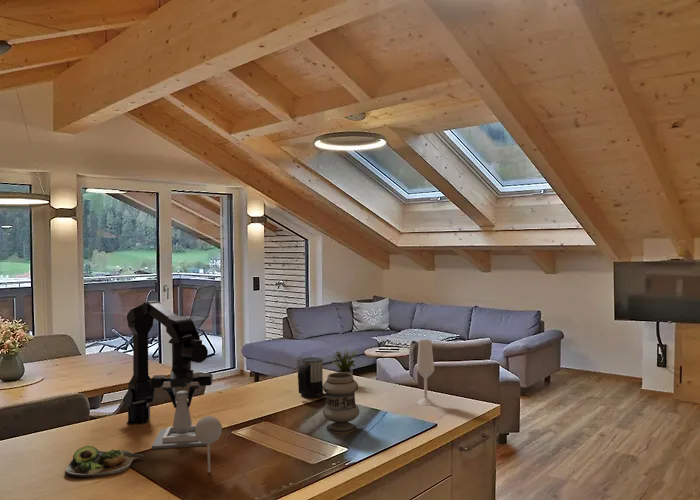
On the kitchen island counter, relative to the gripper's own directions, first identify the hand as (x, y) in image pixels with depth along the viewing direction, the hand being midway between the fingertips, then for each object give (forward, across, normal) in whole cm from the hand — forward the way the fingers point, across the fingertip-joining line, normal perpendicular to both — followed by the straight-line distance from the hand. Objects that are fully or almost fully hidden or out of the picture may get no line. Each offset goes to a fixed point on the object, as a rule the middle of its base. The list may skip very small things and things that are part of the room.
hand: (182, 407), depth 179 cm
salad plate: (+10, -20, -19) cm, 30 cm away
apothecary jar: (+10, +51, 0) cm, 52 cm away
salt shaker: (+8, 0, 0) cm, 8 cm away
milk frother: (+10, +48, +40) cm, 63 cm away
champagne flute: (+10, +87, +24) cm, 91 cm away
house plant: (+10, +59, +57) cm, 83 cm away
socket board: (+10, 0, 0) cm, 10 cm away
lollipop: (+10, +11, -29) cm, 33 cm away
